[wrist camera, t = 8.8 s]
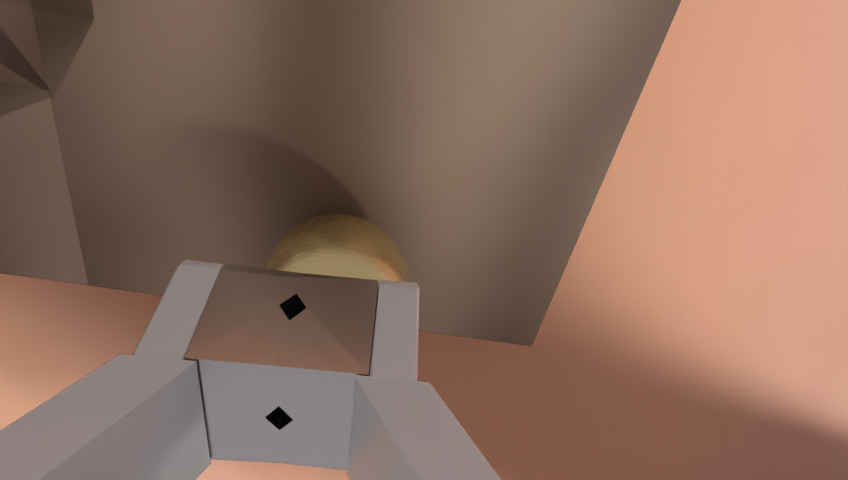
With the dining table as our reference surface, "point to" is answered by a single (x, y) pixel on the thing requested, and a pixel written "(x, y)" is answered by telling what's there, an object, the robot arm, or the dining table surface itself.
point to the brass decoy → (340, 250)
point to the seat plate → (317, 137)
